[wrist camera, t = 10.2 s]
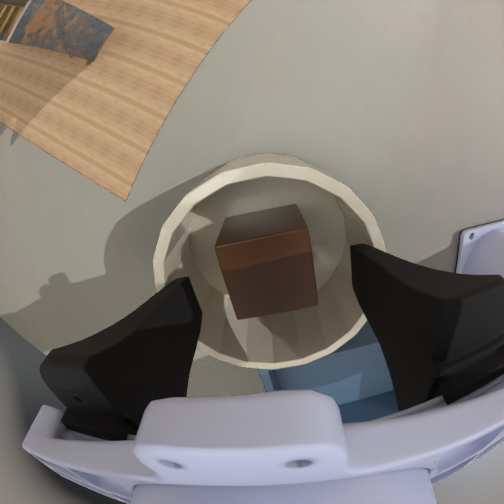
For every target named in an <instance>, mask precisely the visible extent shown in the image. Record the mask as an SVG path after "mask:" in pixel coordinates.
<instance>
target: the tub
mask: <svg viewBox="0 0 504 504" xmlns="http://www.w3.org/2000/svg"><path fill="white" fill-rule="evenodd" d="M258 370H259V373H260V376H261V379H262V382H263V384H264V387H265V390H266V392H272V391H279V390H312V391H315V392H318V393H321V394H324V395H327V396H330V397H333V399H334V400H335V402H336V404H337V405H338V407H339V410H340V414H341V419H342V424H345V423H357V422H366V421H371V420H375V419H378V418H381V417H385V416H388V415H391V414H394V413H397V412H399V410H398V405H397V400H396V396H395V392H394V388H393V384H392V380H391V377H390V373H389V370H388V367H387V364H386V361H385V358H384V355H383V352H382V349H381V346H380V344H379V342H378V340H377V338H376V336H375V334H374V332H373V330H372V328H371V326H370V324H369V322H368V320H367V321H366V323H365V324H364V325H363V326H362V328H361V329H360V330H359V332H358V333H357V334H356V335H355V336H354V337H352V338H351V339H350V340H348V341H347V342H346V343H344V344H343V345H342V346H340V347H339V348H338V349H336V350H335V351H334V352H332V353H330V354H328V355H326V356H323V357H321V358H319V359H316V360H314V361H311V362H309V363H306V364H303V365H298V366H292V367H286V368H280V369H258Z"/></svg>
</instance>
